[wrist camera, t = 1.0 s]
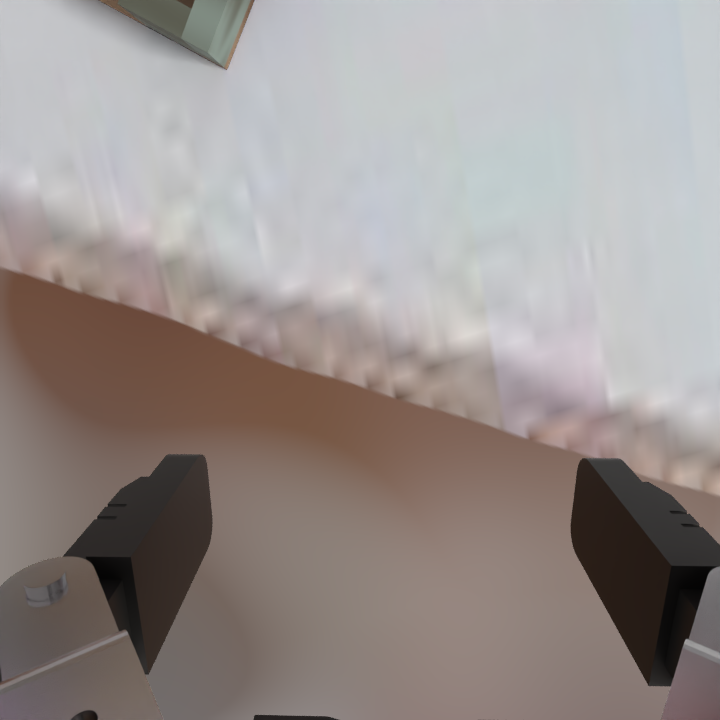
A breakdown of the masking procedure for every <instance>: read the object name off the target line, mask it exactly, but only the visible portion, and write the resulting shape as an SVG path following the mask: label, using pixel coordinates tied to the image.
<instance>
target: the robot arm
mask: <svg viewBox="0 0 720 720" xmlns="http://www.w3.org/2000/svg"><path fill="white" fill-rule="evenodd" d="M211 534H212V510H211V500H210V490H209V479H208V469H207V463H206V459H205V457H204V456H203V455H192V454H188V455H187V454H180V455H179V454H168V455H166V456H165V458H164V459H163V460H162V461H161V463H160V464H159V465H158V466H157V468H156V469H155V470H154V471H153V473H152V474H151V475H150V476H149V477H140V478H138V479H137V480H135V481H133V482H132V483H130V484H128V485H127V486H125V487H124V488H122V489H121V490H120V491H119V492H118V493H117V494H116V496H114V498H113V499H112V500H111V501H110V502H109V503H108V507H105V508H104V509H103V510H102V512H101V513H100V514H99V515H98V517H97V519H96V520H94V521H93V522H92V523H91V524H90V526H89V527H88V528H87V529H86V530H85V531H84V533H83V534H82V535H81V536H80V537H79V538H78V539H77V541H76V542H75V543H74V544H73V545H72V547H71V548H70V549H69V550H68V551H67V552H66V554H65V555H64V556H63V557H57V558H52V559H47V560H44V561H41V562H38V563H35V564H32V565H30V566H28V567H26V568H24V569H22V570H21V571H19V572H17V573H15V574H14V575H13V576H11V577H10V578H9V579H7V580H6V581H5V582H4V583H3V584H2V585H1V586H0V720H164V719H163V717H162V715H161V712H160V709H159V707H158V705H157V702H156V700H155V697H154V695H153V692H152V690H151V688H150V685H149V683H148V680H147V678H146V675H145V674H149V672H150V670H151V668H152V666H153V664H154V662H155V660H156V658H157V655H158V653H159V651H160V649H161V647H162V645H163V643H164V641H165V639H166V636H167V634H168V632H169V630H170V628H171V626H172V624H173V622H174V619H175V617H176V615H177V613H178V611H179V609H180V607H181V605H182V602H183V600H184V598H185V596H186V594H187V592H188V590H189V588H190V585H191V583H192V581H193V579H194V577H195V575H196V573H197V571H198V568H199V566H200V564H201V562H202V560H203V558H204V556H205V554H206V552H207V549H208V547H209V544H210V540H211ZM571 538H572V543H573V547H574V550H575V553H576V555H577V557H578V559H579V561H580V562H581V564H582V566H583V567H584V570H585V571H586V573H587V575H588V577H589V579H590V581H591V582H592V584H593V586H594V588H595V589H596V591H597V593H598V595H599V597H600V599H601V600H602V602H603V604H604V606H605V608H606V609H607V611H608V613H609V615H610V617H611V619H612V620H613V622H614V624H615V626H616V627H617V629H618V631H619V633H620V635H621V637H622V638H623V640H624V642H625V644H626V646H627V647H628V649H629V651H630V653H631V655H632V657H633V658H634V660H635V662H636V664H637V666H638V667H639V669H640V671H641V673H642V674H643V677H644V678H645V680H646V682H647V683H648V686H671V688H670V691H669V694H668V698H667V701H666V704H665V707H664V710H663V714H662V717H661V720H720V545H719V544H718V543H717V542H716V541H715V540H714V539H713V538H712V536H710V535H709V533H708V532H707V531H706V530H705V529H704V528H703V527H699V523H698V522H697V521H696V520H695V519H694V518H693V517H692V516H691V515H690V514H687V511H686V510H685V509H684V508H683V507H682V506H681V505H680V504H679V503H678V502H677V501H676V500H675V499H674V497H672V496H671V495H670V494H668V493H666V492H665V491H663V490H661V489H660V488H658V487H656V486H654V485H653V484H651V483H649V482H642V481H641V480H640V479H639V478H638V477H637V476H636V475H635V473H634V472H633V471H632V470H631V469H630V468H629V467H628V466H627V465H626V464H625V463H624V461H622V460H621V459H618V458H583V459H582V460H581V461H580V463H579V465H578V470H577V476H576V485H575V493H574V502H573V510H572V518H571ZM254 720H338V719H334V718H331V717H325V716H278V715H255V716H254Z"/></svg>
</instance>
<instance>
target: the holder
mask: <svg viewBox="0 0 720 720" xmlns="http://www.w3.org/2000/svg"><path fill="white" fill-rule="evenodd" d="M99 1H101V2H103V3H105V4H106V5H108V6H110V7H112V8H114V9H116V10H117V11H119V12H121V13H123V14H125V15H127V16H129V17H130V18H132V19H134V20H136V21H138V22H140V23H141V24H143V25H145V26H147V27H149V28H151V29H152V30H154V31H156V32H158V33H160V34H162V35H163V36H165V37H167V38H169V39H171V40H173V41H175V42H176V43H178V44H180V45H182V46H184V47H186V48H187V49H189V50H191V51H193V52H195V53H197V54H198V55H200V56H202V57H204V58H206V59H208V60H209V61H211V62H213V63H215V64H217V65H219V66H221V67H222V68H224V69H226V70H227V68H228V66H229V63H230V61H231V58H232V56H233V53H234V51H235V48H236V46H237V43H238V41H239V38H240V35H241V33H242V30H243V28H244V25H245V23H246V20H247V18H248V15H249V13H250V10H251V8H252V5H253V2H254V0H99Z"/></svg>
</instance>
